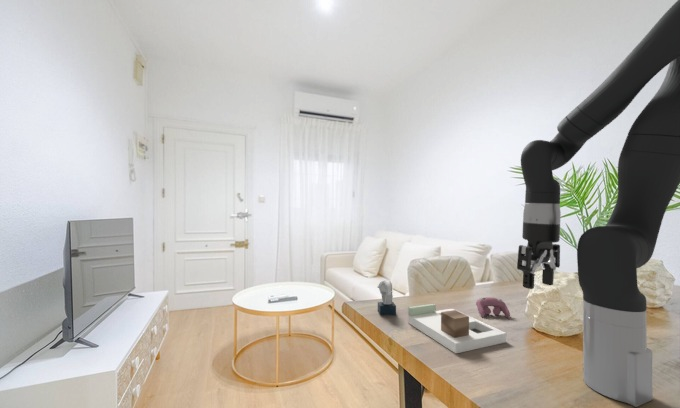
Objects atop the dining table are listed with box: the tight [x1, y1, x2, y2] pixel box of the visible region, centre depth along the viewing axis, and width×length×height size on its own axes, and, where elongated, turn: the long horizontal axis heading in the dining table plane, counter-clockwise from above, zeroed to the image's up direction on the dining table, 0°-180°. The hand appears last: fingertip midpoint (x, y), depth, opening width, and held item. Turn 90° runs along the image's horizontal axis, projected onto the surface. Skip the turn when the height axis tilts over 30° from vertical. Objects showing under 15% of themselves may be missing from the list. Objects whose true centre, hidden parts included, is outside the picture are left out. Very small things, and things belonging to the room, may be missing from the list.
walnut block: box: [441, 309, 469, 338], centre depth 76 cm, size 5×5×5 cm
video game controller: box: [475, 296, 511, 319], centre depth 96 cm, size 10×5×7 cm, turn 84°
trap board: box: [407, 303, 507, 354], centre depth 82 cm, size 20×18×5 cm
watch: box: [377, 279, 397, 316], centre depth 97 cm, size 6×8×11 cm
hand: (538, 286), depth 69 cm, fingers open, 8 cm apart
